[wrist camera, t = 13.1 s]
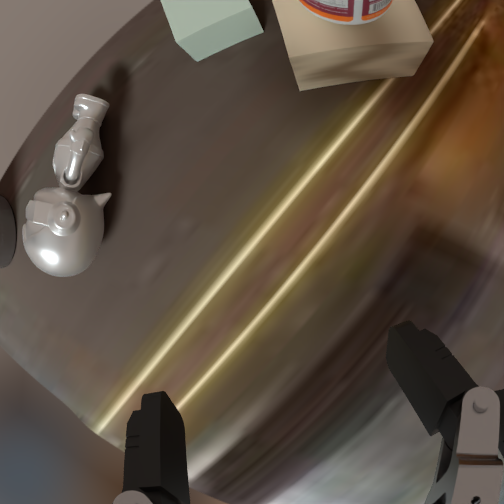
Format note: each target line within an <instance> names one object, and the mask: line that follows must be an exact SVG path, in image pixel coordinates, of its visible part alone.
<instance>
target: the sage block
mask: <svg viewBox="0 0 504 504" xmlns="http://www.w3.org/2000/svg"><path fill="white" fill-rule="evenodd" d="M161 3H162V5H163V8H164V11H165V13H166V16H167V19H168V21H169V24H170V27H171V30H172V32H173V35H174V38H175V40H176V43H177V44H179V45H180V46H181V47H182V48H183V49H184V50H185V51H186V52H187V53H188V54H189V55H190V56H192V57H193V58H194V59H195V60H196V61H197V62H198V61H200V60H202V59H204V58H206V57H208V56H210V55H212V54H214V53H217V52H219V51H221V50H223V49H225V48H227V47H230V46H232V45H234V44H236V43H239V42H241V41H243V40H246V39H248V38H250V37H253V36H255V35H258V34H260V33H263V32H264V31H263V29H262V27H261V25H260V22H259V20H258V18H257V16H256V14H255V12H254V10H253V8H252V6H251V4H250V2H249V1H248V0H161Z"/></svg>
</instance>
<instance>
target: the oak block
mask: <svg viewBox="0 0 504 504" xmlns="http://www.w3.org/2000/svg"><path fill="white" fill-rule="evenodd" d="M272 2H273V5H274V8H275V11H276V14H277V18H278V21H279V24H280V28H281V31H282V34H283V38H284V41H285V45H286V49H287V52H288V56H289V59H290V62H291V65H292V68H293V71H294V75H295V78H296V81H297V84H298V87H299V91H304V90H309V89H314V88H320V87H326V86H332V85H338V84H344V83H351V82H359V81H366V80H375V79H384V78H394V77H405V76H414V74H415V72H416V71H417V69H418V67H419V66H420V64H421V62H422V61H423V59H424V57H425V56H426V54H427V52H428V51H429V49H430V47H431V45H432V44H433V42H434V41H433V38H432V36H431V34H430V32H429V29H428V27H427V25H426V23H425V20H424V18H423V16H422V14H421V12H420V10H419V8H418V6H417V4H416V2H415V0H393V1H392V4H391V6H390V8H389V9H388V11H387V12H386V13H385V14H384V15H382V16H381V17H380V18H378V19H377V20H375V21H372V22H369V23H365V24H358V25H344V24H337V23H333V22H329V21H326V20H323V19H321V18H319V17H317V16H315V15H313V14H312V13H310V12H309V11H307V10H306V9H305V8H304V7H303V6H302V5H301V3H300V2H299V1H298V0H272Z"/></svg>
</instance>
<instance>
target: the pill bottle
mask: <svg viewBox="0 0 504 504" xmlns="http://www.w3.org/2000/svg"><path fill="white" fill-rule="evenodd" d="M298 1H299V2H300V3H301V5H302V6H303V7H304V8H305V9H306V10H307V11H309V12H310V13H312V14H313V15H315V16H317V17H319V18H321V19H323V20H326V21H329V22H333V23H337V24H344V25H358V24H365V23H369V22H372V21H375V20H377V19H378V18H380V17H381V16H382V15H384V14H385V13H386V12H387V11H388V9H389V8H390V6H391V4H392V1H393V0H298Z"/></svg>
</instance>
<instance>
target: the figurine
mask: <svg viewBox="0 0 504 504" xmlns="http://www.w3.org/2000/svg"><path fill="white" fill-rule="evenodd" d="M108 108H109V103H108V102H107V101H105V100H103V99H100V98H97V97H94V96H91V95H87V94H78V95H77V96H76V98H75V103H74V111H73V117H74V118H75V119H77V122H76V123H75V124H74V125H73V126H72V127H71V128H70V129H69V130H68V131H67V133H66V134H65V135H64V136H63V138H62V139H59V140H58V142H57V144H56V145H55V152H54V158H53V162H52V163H53V169H54V171H55V175H56V177H57V181H58V184H59V187H60V188H55V187H50V188H44V189H41V190H39V191H37V192H36V193H35V195H34V201H32V200H30V201H29V203H28V205H27V207H26V218H27V219H28V220H27V223H25V224H24V225H23V228H22V237H23V244H24V247H25V250H26V252H27V254H28V256H29V257H30V259H31V260H32V262H33V263H34V264H35V265H36V266H37V267H38V268H39V269H40V270H42V271H44V272H46V273H48V274H50V275H53V276H58V277H69V276H74V275H77V274H79V273H81V272H83V271H84V270H85V269H86V268H88V267H89V266H90V265H91V263H92V262H93V261H94V259H95V257H96V255H97V253H98V251H99V248H100V245H101V242H102V239H103V234H104V212H103V208H104V206H105V204H106V203H107V201H108V200H109V199H110V197H111V195H112V194H111V193H103V194H97V195H82V194H80V193H78V191H79V190H80V189H81V188H82V186H83V185H84V184H85V183H86V182H87V180H88V179H89V178H90V177H91V175H92V174H93V173H94V171H95V170H96V169H97V167H98V166H99V164H100V162H101V160H103V159H104V152H103V150H102V148H101V142H100V138H99V129H100V127H101V125H102V121H103V119H104V117H105V114H106V112H107V110H108Z"/></svg>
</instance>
